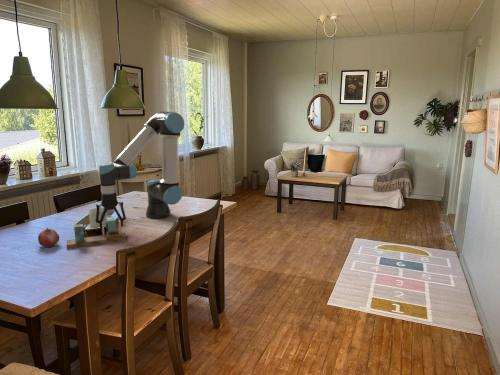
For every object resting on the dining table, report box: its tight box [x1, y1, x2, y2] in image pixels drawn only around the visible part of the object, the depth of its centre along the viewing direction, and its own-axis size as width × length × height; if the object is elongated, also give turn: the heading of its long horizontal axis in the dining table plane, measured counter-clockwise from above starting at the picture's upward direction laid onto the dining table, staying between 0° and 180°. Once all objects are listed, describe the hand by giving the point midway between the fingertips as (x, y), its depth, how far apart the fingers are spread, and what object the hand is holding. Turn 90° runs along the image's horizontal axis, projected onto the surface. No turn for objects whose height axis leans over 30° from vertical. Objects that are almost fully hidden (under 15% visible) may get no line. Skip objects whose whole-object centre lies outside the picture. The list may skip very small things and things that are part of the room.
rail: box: [66, 223, 128, 250], centre depth 187 cm, size 28×7×10 cm, turn 115°
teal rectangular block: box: [106, 218, 117, 232], centre depth 199 cm, size 5×4×8 cm
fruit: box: [37, 227, 60, 248], centre depth 182 cm, size 9×10×10 cm
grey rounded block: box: [88, 207, 108, 229], centre depth 208 cm, size 12×9×11 cm
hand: (112, 233), depth 200 cm, fingers open, 8 cm apart
